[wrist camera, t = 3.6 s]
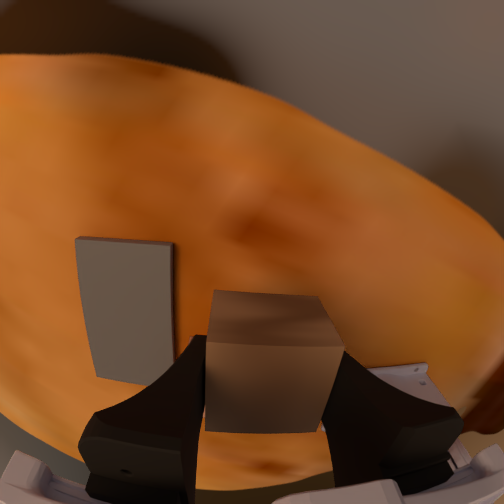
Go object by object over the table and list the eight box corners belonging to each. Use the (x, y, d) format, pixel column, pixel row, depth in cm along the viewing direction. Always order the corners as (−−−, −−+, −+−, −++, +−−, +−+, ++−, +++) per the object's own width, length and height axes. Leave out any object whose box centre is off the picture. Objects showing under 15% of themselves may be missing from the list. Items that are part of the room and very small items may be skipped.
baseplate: (172, 242, 19) (170, 246, 19) (176, 383, 23) (175, 389, 22) (80, 236, 19) (74, 239, 18) (99, 371, 22) (96, 376, 22)
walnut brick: (317, 296, 13) (345, 346, 10) (299, 375, 15) (316, 431, 11) (213, 289, 13) (206, 341, 9) (210, 371, 14) (204, 430, 11)
